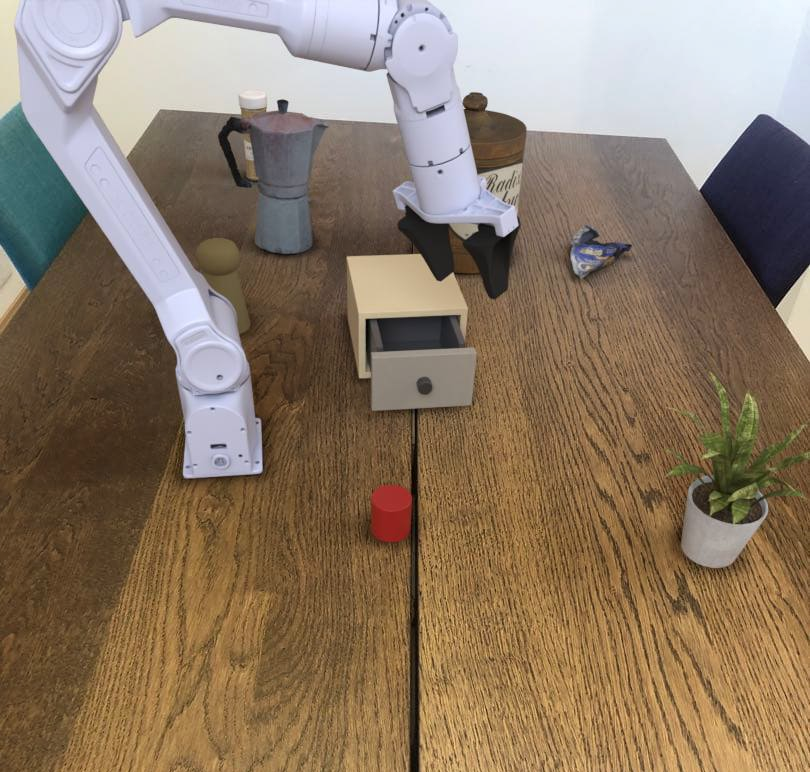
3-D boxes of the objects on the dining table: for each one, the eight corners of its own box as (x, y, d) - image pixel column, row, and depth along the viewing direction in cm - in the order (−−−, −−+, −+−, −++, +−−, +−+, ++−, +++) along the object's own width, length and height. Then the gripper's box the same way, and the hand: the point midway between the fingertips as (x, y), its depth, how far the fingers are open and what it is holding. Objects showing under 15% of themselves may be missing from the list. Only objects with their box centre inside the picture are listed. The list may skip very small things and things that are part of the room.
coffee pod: (413, 541, 78) (414, 509, 75) (373, 544, 77) (373, 512, 74) (407, 514, 80) (408, 483, 78) (368, 517, 80) (368, 485, 77)
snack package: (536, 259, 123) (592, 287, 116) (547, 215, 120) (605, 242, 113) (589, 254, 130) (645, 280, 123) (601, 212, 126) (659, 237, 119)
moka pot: (340, 250, 123) (337, 106, 109) (239, 264, 119) (223, 115, 105) (321, 225, 129) (316, 86, 116) (225, 237, 125) (207, 94, 111)
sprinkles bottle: (251, 183, 141) (243, 98, 132) (242, 174, 144) (234, 90, 135) (276, 179, 143) (270, 95, 134) (267, 170, 146) (260, 87, 137)
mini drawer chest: (462, 373, 99) (468, 308, 93) (359, 378, 98) (358, 312, 92) (441, 314, 110) (445, 252, 104) (347, 318, 108) (346, 256, 102)
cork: (241, 339, 103) (231, 255, 96) (196, 333, 104) (182, 249, 97) (257, 316, 108) (248, 234, 100) (213, 311, 108) (202, 229, 101)
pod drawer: (473, 411, 92) (479, 358, 87) (373, 417, 90) (373, 363, 86) (449, 344, 102) (453, 294, 98) (359, 348, 101) (359, 297, 96)
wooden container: (459, 284, 116) (473, 117, 101) (394, 247, 124) (398, 88, 109) (532, 257, 123) (555, 98, 108) (466, 225, 132) (478, 72, 116)
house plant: (595, 510, 82) (631, 368, 70) (710, 482, 85) (762, 343, 74) (677, 611, 72) (734, 466, 61) (803, 575, 76) (879, 431, 65)
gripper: (530, 138, 69) (552, 279, 78) (416, 120, 78) (449, 248, 87) (472, 180, 66) (503, 320, 76) (362, 157, 76) (402, 284, 85)
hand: (471, 284), depth 82 cm, fingers open, 7 cm apart
